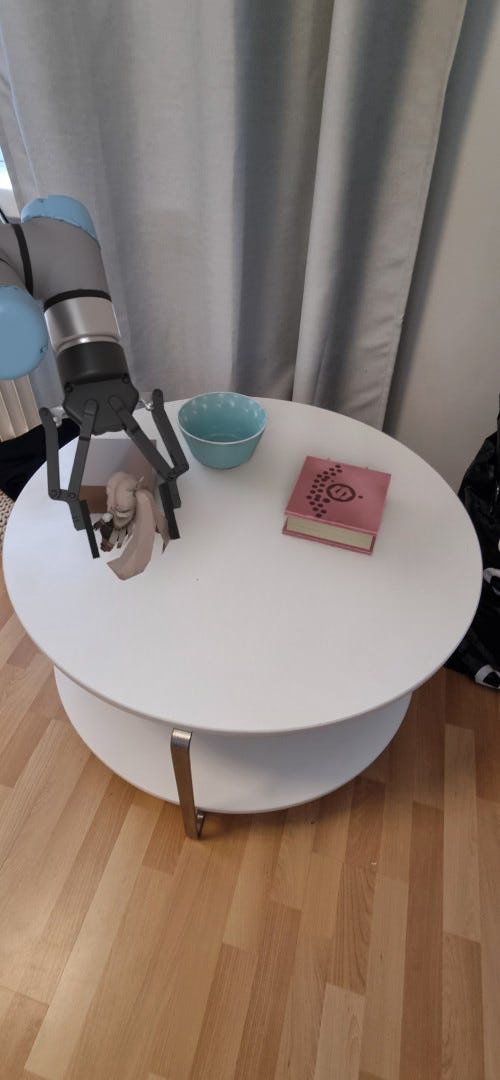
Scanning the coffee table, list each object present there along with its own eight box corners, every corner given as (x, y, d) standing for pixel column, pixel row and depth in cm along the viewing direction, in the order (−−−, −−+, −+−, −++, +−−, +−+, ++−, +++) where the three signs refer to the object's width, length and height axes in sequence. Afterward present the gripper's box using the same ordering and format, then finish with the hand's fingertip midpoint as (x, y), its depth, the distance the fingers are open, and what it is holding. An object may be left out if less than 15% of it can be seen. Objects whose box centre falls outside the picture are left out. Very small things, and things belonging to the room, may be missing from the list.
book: (386, 493, 100) (392, 470, 97) (371, 556, 90) (377, 533, 86) (304, 474, 103) (307, 452, 99) (281, 533, 93) (284, 510, 89)
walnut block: (77, 513, 94) (70, 485, 90) (90, 465, 103) (84, 437, 98) (152, 514, 95) (149, 486, 90) (159, 466, 103) (156, 439, 99)
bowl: (186, 424, 112) (184, 387, 106) (268, 431, 111) (270, 393, 105) (171, 478, 101) (168, 439, 95) (262, 485, 100) (264, 447, 94)
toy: (126, 513, 76) (142, 437, 64) (175, 554, 75) (200, 485, 63) (74, 553, 71) (80, 479, 59) (125, 599, 70) (142, 533, 58)
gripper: (175, 346, 71) (217, 527, 73) (-7, 373, 66) (42, 569, 67) (186, 325, 64) (232, 526, 66) (-18, 353, 58) (38, 573, 60)
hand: (136, 548), depth 66 cm, fingers closed on toy, 8 cm apart
